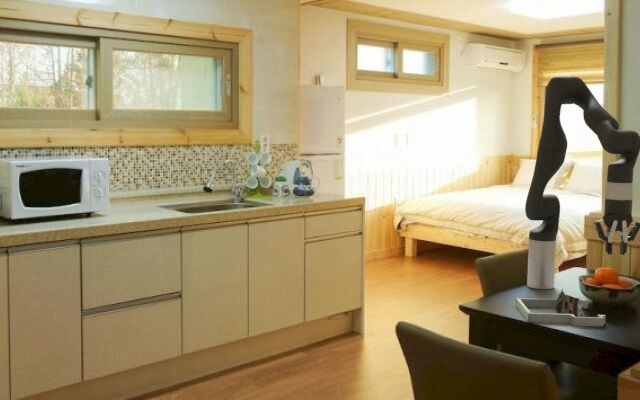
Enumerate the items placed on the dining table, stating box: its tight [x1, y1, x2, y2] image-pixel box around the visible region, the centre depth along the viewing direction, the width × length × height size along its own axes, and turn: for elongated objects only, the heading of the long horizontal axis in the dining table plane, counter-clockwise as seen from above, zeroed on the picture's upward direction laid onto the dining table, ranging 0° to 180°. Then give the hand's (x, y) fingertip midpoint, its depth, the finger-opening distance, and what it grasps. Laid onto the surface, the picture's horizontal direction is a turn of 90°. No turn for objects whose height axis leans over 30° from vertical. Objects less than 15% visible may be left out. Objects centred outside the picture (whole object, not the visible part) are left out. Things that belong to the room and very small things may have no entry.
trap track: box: [515, 296, 606, 327], centre depth 207 cm, size 23×22×2 cm
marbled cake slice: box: [553, 288, 583, 317], centre depth 208 cm, size 10×7×12 cm
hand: (615, 254), depth 204 cm, fingers open, 3 cm apart
